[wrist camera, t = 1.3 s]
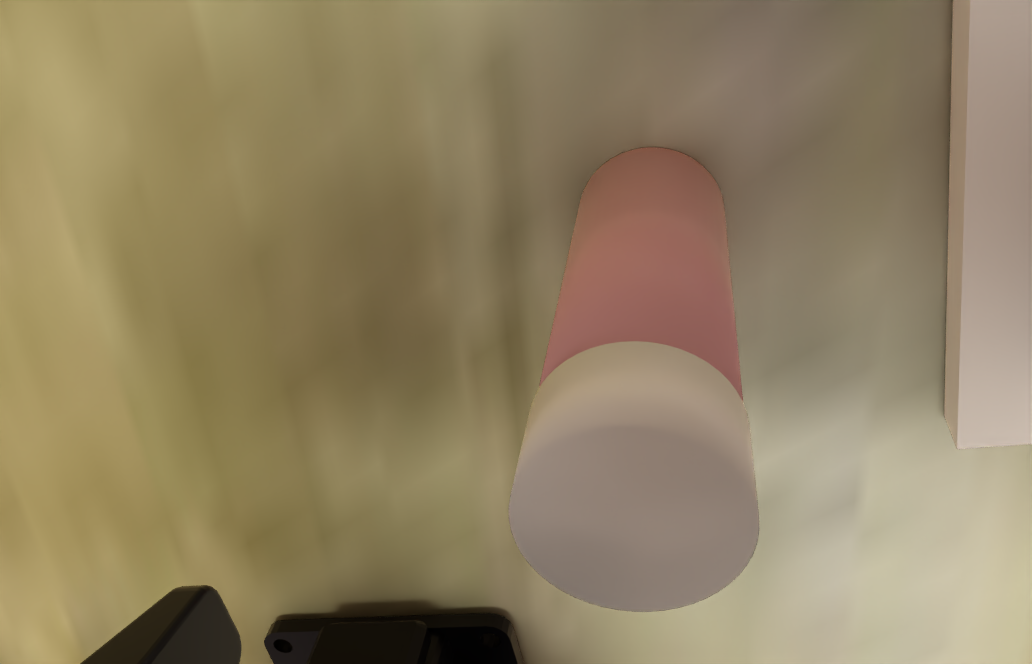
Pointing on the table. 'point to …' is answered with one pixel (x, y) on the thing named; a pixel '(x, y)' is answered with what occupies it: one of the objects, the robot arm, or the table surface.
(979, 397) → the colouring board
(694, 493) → the rose marker
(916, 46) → the table surface
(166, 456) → the table surface
